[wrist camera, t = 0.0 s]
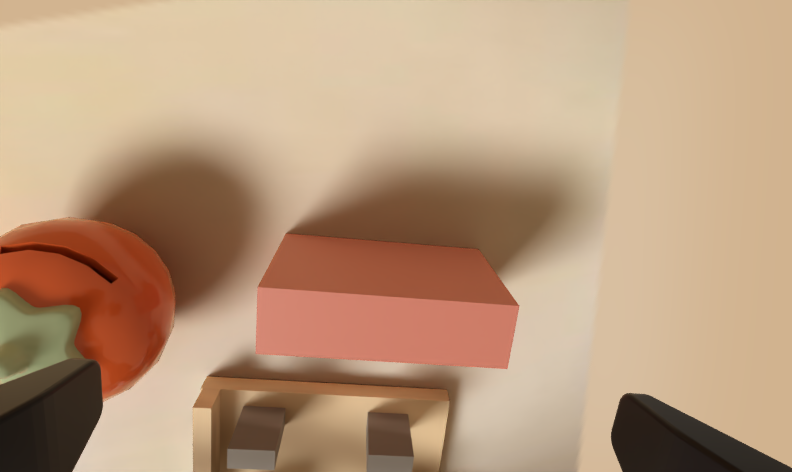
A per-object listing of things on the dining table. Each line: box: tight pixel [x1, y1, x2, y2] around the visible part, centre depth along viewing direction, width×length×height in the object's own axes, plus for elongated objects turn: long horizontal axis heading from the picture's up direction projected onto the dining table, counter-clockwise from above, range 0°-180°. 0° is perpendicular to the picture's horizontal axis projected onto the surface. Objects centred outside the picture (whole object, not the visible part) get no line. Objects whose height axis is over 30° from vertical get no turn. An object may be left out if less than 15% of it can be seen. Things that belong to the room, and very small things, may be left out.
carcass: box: [193, 376, 450, 472], centre depth 24 cm, size 7×12×4 cm, turn 84°
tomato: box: [0, 217, 175, 402], centre depth 19 cm, size 7×7×8 cm
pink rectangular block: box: [256, 233, 519, 369], centre depth 20 cm, size 9×2×6 cm, turn 84°
